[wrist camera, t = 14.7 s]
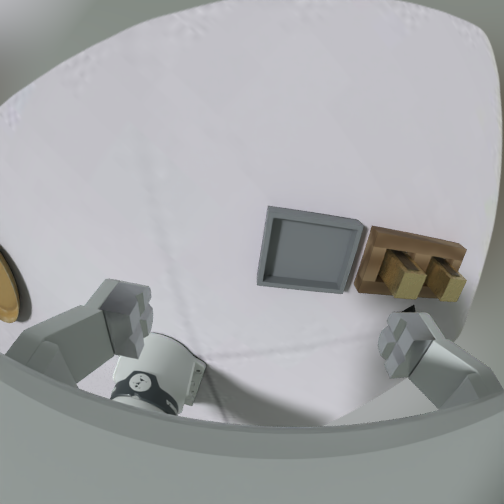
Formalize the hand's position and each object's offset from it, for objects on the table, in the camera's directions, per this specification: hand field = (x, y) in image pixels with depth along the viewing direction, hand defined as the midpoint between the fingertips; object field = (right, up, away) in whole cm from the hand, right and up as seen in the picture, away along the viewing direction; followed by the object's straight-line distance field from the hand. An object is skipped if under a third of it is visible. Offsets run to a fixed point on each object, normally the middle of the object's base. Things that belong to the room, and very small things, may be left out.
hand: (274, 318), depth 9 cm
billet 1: (+21, +1, +32) cm, 38 cm away
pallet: (+25, 0, +32) cm, 41 cm away
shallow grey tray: (+7, +3, +31) cm, 32 cm away
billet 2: (+30, 0, +32) cm, 44 cm away
